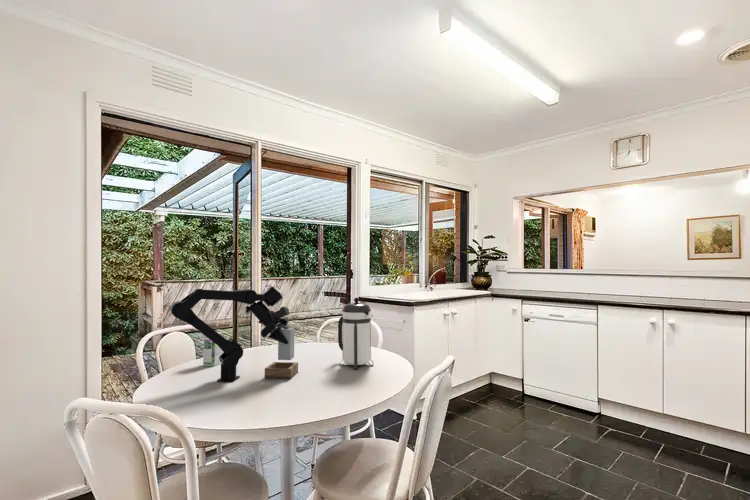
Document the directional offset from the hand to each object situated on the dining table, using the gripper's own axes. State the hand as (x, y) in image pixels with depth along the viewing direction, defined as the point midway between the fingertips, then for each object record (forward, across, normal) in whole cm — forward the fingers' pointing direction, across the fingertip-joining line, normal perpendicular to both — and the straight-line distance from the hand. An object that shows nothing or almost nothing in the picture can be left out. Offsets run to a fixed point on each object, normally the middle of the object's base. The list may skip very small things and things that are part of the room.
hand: (289, 342), depth 156 cm
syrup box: (-19, +15, +38) cm, 45 cm away
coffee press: (+26, +18, -7) cm, 33 cm away
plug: (+4, 0, +6) cm, 7 cm away
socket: (+7, 0, +12) cm, 14 cm away
